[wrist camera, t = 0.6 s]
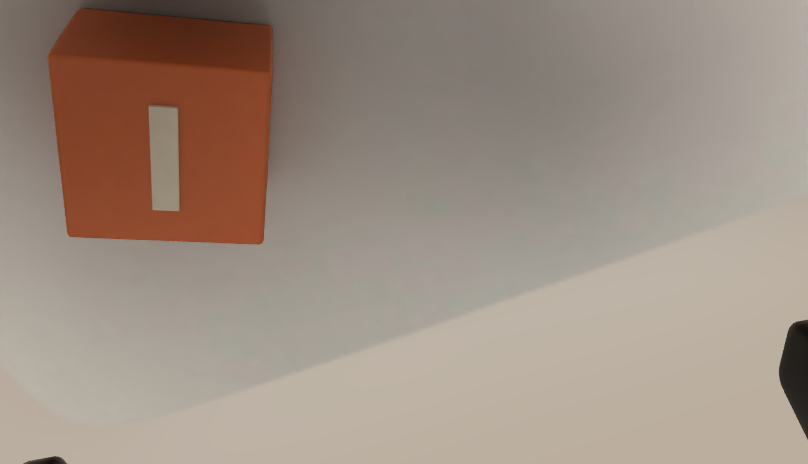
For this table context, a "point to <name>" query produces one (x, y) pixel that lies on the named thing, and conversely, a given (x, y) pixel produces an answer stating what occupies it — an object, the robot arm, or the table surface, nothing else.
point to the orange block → (162, 126)
